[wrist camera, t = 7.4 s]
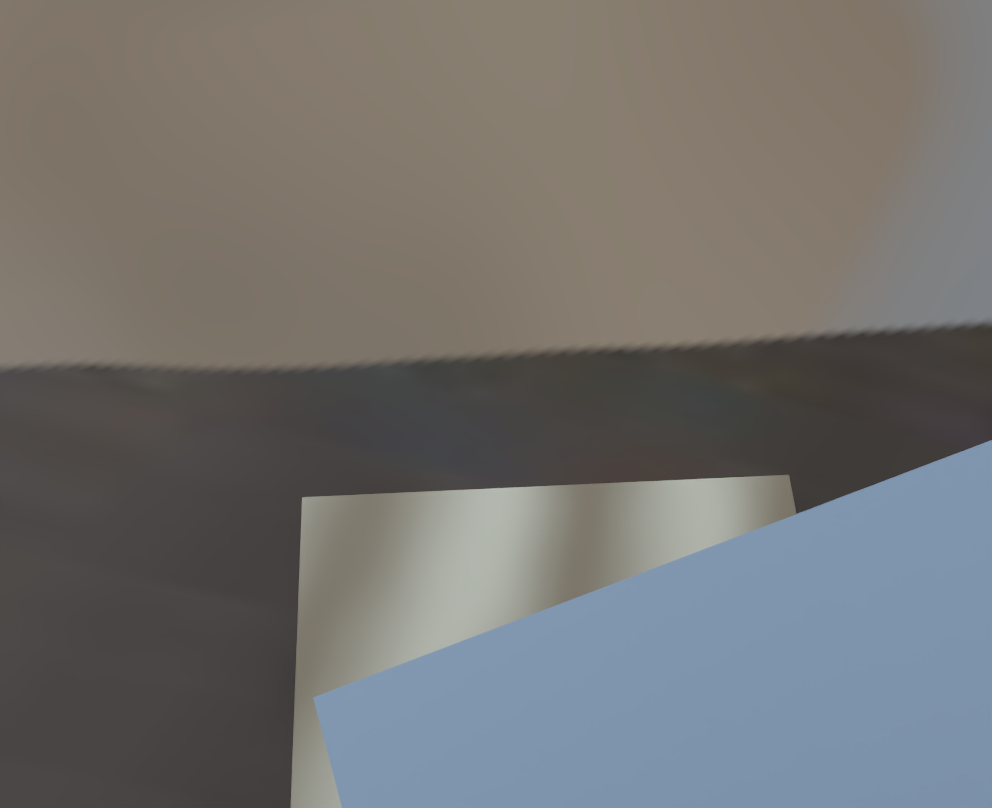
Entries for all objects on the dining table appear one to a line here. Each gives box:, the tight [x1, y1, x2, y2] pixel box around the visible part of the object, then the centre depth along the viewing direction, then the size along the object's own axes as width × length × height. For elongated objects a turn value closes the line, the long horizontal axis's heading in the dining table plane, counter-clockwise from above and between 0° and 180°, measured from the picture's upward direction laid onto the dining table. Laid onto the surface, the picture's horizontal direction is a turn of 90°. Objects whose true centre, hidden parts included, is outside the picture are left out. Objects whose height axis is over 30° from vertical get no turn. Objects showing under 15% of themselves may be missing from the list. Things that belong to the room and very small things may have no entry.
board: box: [291, 475, 796, 808], centre depth 20 cm, size 14×14×1 cm
